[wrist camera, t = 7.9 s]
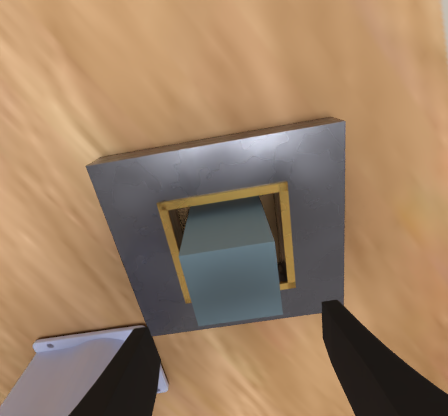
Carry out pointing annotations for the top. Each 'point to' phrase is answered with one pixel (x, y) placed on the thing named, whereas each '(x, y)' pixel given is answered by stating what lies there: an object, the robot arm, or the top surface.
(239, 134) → the square hole plate
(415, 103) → the top surface
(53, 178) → the top surface
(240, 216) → the peg
